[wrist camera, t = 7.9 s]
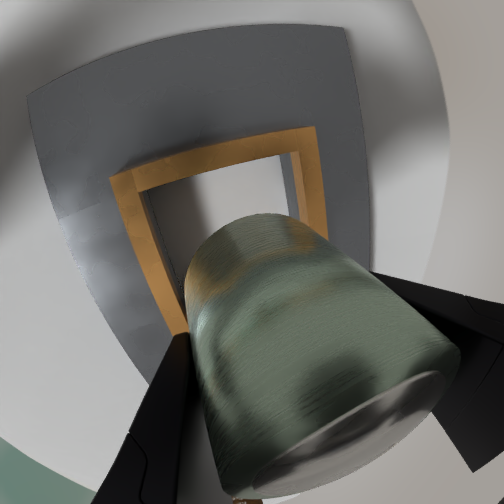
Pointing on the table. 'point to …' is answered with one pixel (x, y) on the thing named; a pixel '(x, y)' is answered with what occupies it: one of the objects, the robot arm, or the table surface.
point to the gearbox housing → (196, 154)
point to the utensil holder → (246, 501)
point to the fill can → (303, 358)
